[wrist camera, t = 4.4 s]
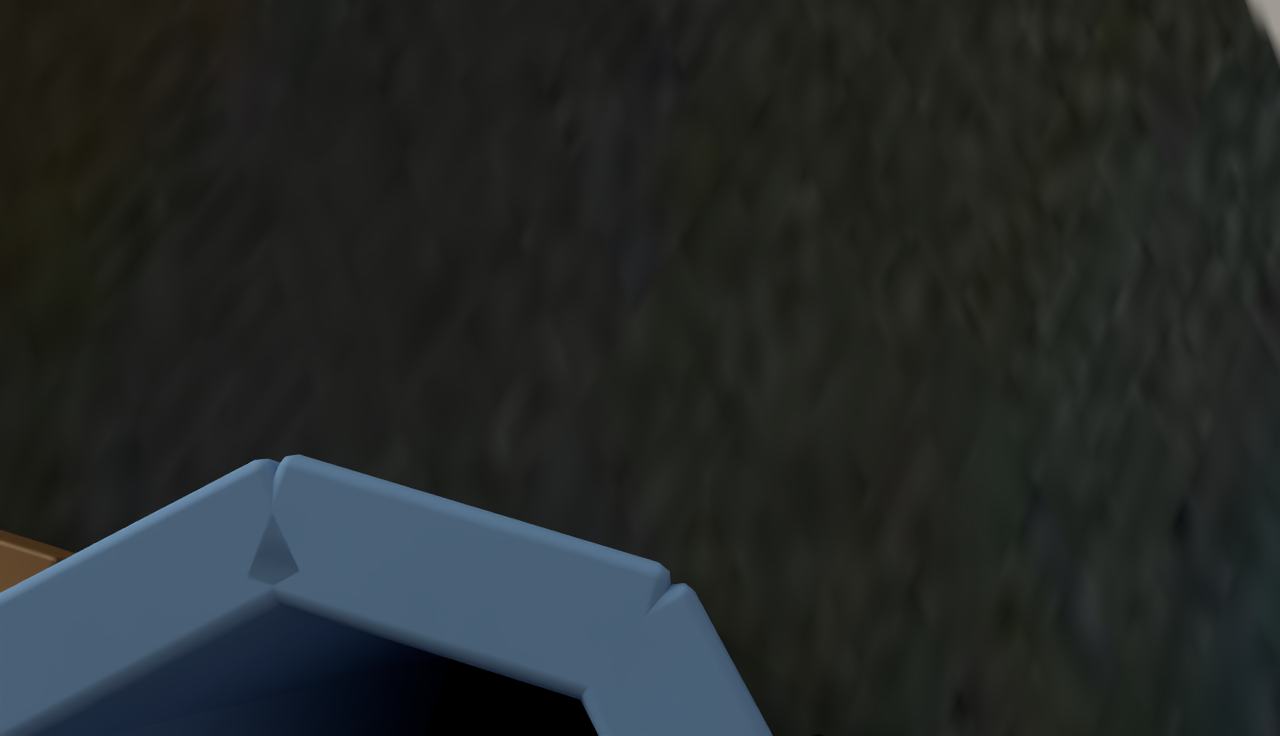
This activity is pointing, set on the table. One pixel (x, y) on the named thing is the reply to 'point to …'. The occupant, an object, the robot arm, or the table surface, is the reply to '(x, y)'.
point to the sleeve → (349, 619)
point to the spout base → (25, 558)
